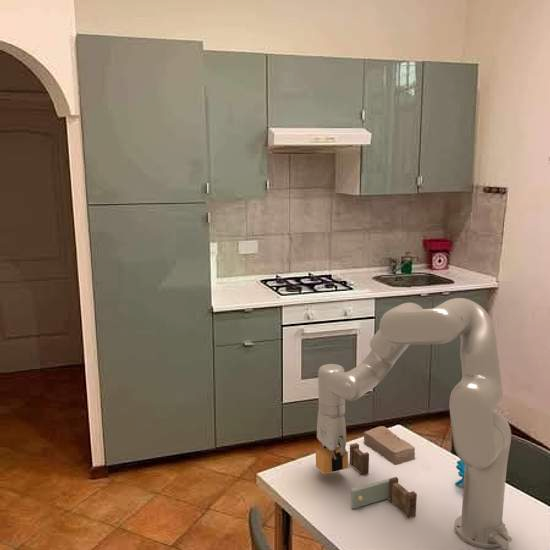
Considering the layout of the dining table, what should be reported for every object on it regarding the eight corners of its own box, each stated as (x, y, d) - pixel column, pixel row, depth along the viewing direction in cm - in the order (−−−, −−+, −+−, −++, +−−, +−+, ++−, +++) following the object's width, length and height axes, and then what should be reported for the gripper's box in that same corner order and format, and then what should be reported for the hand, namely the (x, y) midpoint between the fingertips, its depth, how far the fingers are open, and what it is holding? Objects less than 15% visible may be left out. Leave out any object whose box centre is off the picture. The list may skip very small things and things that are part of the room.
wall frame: (415, 516, 152) (416, 493, 151) (408, 518, 151) (409, 496, 150) (356, 462, 179) (356, 442, 178) (349, 464, 178) (349, 444, 177)
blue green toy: (479, 496, 158) (455, 464, 161) (462, 506, 160) (439, 474, 164) (489, 483, 167) (466, 452, 170) (473, 492, 170) (451, 462, 173)
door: (390, 494, 161) (390, 478, 160) (395, 499, 159) (396, 482, 158) (350, 506, 156) (351, 489, 155) (355, 511, 154) (356, 493, 153)
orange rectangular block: (348, 468, 169) (348, 452, 168) (323, 474, 166) (323, 458, 165) (339, 460, 174) (339, 444, 173) (315, 466, 171) (315, 450, 170)
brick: (416, 459, 181) (416, 445, 180) (395, 466, 177) (395, 452, 176) (382, 438, 195) (383, 424, 195) (362, 443, 192) (362, 430, 191)
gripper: (307, 399, 173) (308, 455, 176) (334, 421, 158) (335, 482, 161) (329, 394, 176) (329, 450, 179) (358, 416, 160) (358, 476, 164)
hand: (332, 465), depth 170 cm, fingers closed on orange rectangular block, 4 cm apart
